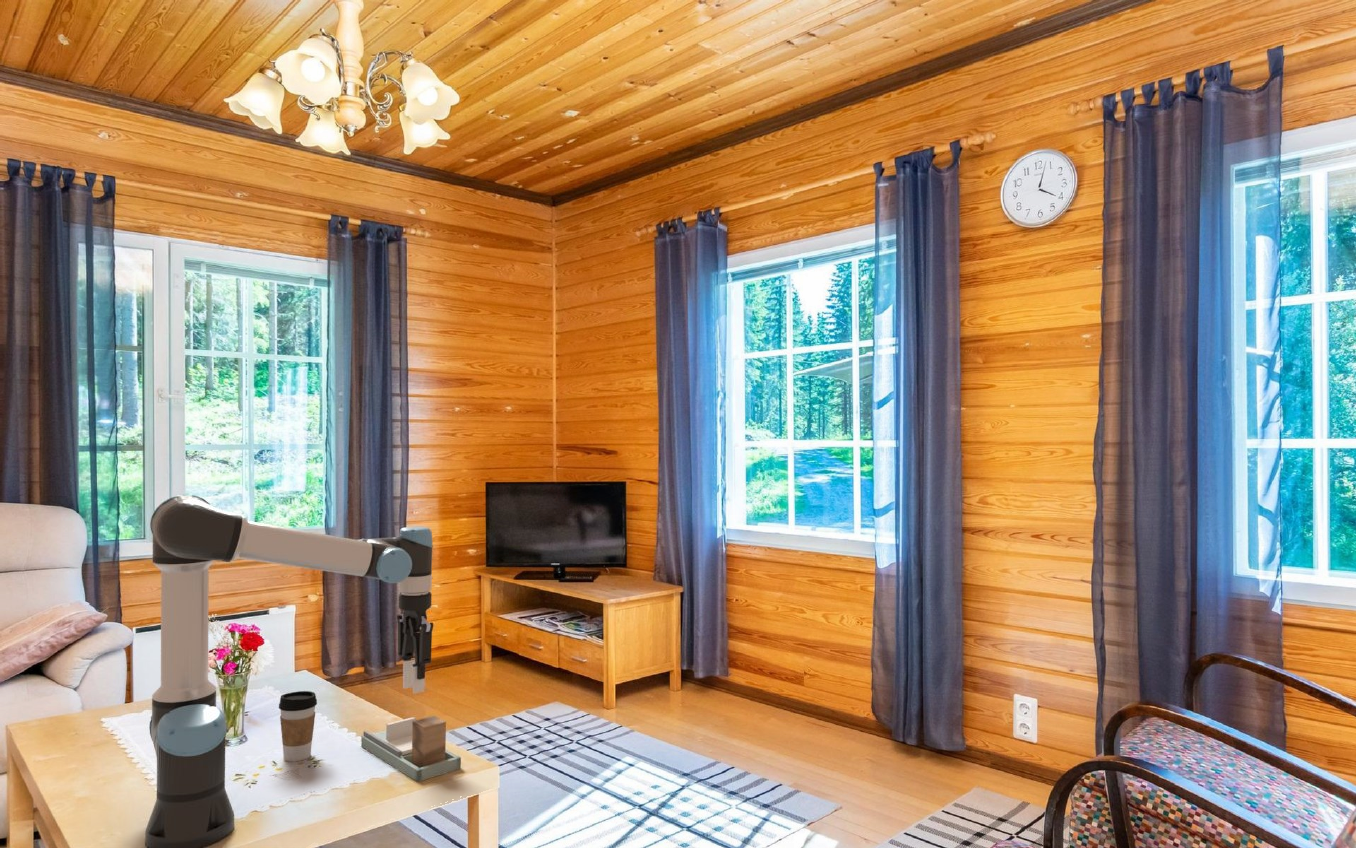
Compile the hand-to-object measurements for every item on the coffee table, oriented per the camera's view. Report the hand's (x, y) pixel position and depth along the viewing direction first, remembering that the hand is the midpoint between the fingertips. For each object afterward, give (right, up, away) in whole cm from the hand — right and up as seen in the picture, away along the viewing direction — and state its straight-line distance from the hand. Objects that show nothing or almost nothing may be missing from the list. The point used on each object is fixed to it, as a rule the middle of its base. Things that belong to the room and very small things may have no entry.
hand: (413, 689), depth 207 cm
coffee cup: (-28, -16, 0) cm, 32 cm away
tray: (-1, -17, +1) cm, 17 cm away
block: (+5, -17, -5) cm, 18 cm away
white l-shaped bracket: (-2, -14, +2) cm, 14 cm away
